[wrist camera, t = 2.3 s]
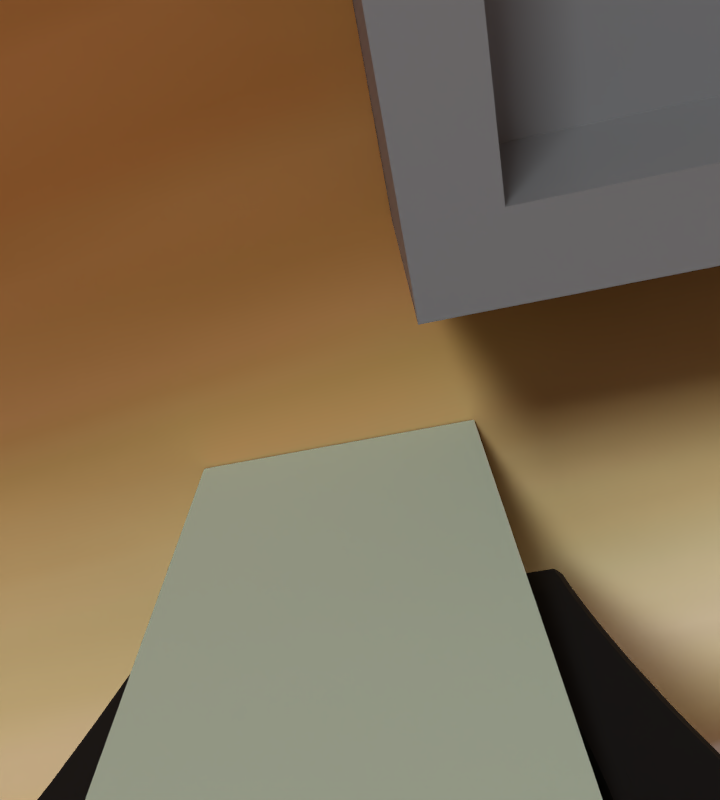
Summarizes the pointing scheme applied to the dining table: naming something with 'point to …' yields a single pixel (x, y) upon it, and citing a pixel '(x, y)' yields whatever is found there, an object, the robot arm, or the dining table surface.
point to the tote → (544, 144)
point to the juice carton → (347, 640)
